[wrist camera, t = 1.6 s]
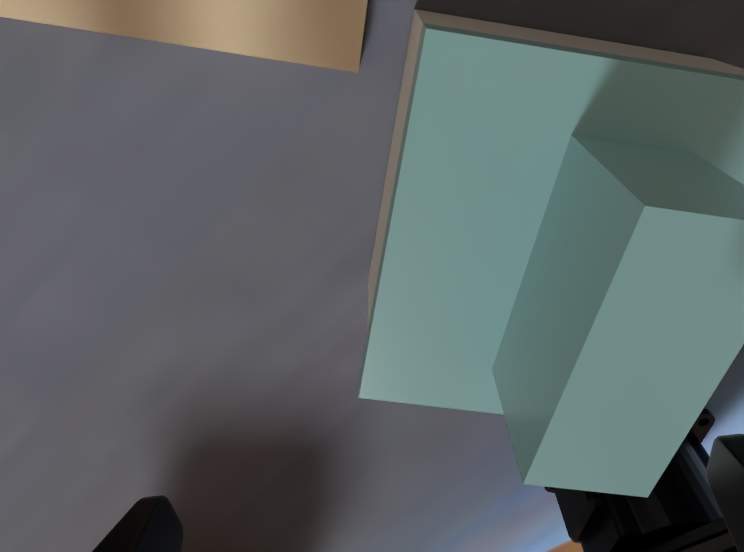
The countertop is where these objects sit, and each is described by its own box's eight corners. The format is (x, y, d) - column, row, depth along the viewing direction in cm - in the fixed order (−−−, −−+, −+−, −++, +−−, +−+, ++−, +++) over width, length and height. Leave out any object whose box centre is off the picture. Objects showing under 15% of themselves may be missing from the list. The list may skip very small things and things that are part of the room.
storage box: (710, 58, 18) (843, 101, 13) (602, 305, 23) (666, 407, 18) (413, 8, 17) (429, 33, 12) (369, 275, 23) (366, 371, 17)
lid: (825, 84, 14) (1094, 166, 9) (656, 391, 19) (759, 555, 14) (419, 17, 13) (447, 62, 8) (360, 355, 18) (353, 514, 13)
